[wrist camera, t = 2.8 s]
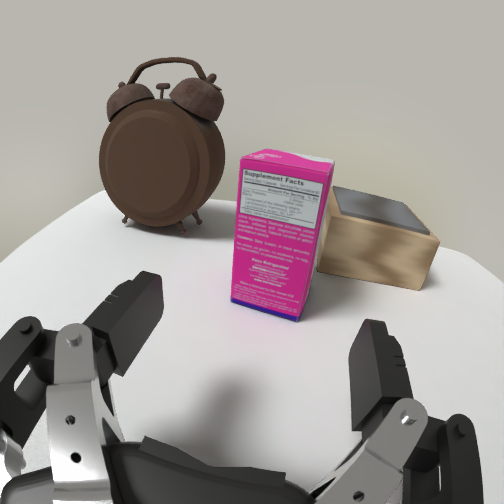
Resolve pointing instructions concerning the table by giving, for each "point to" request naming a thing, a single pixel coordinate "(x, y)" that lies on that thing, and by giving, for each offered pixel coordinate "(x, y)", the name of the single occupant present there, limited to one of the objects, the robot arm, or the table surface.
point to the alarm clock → (163, 148)
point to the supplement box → (278, 229)
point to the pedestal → (374, 240)
